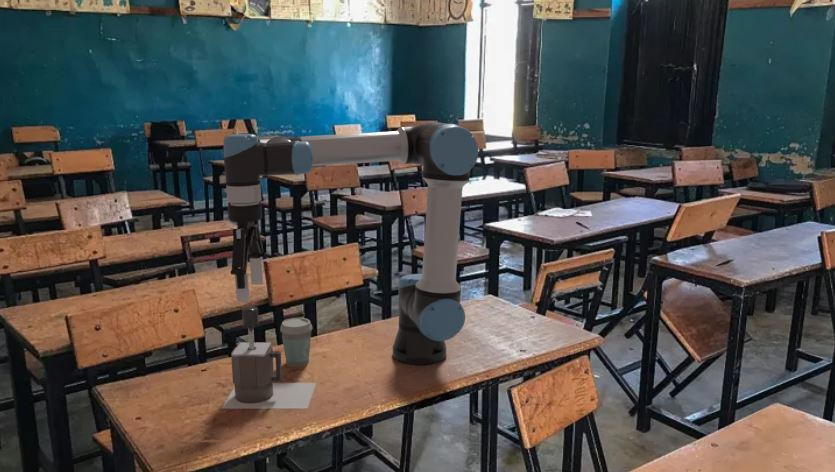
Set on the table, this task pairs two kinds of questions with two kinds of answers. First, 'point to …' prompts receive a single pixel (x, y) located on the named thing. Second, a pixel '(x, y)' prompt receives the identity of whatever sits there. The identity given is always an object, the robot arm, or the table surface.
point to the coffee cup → (296, 341)
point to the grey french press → (255, 372)
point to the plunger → (250, 323)
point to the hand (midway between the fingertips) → (250, 292)
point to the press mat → (278, 397)
